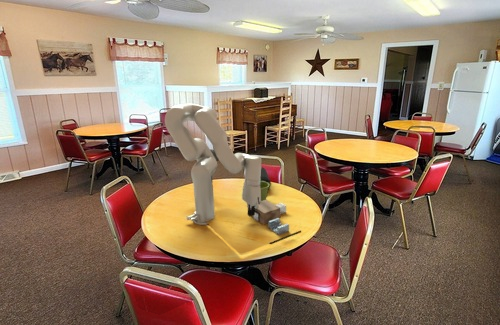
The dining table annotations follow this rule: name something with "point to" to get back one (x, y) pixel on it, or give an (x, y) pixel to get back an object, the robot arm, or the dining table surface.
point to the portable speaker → (265, 176)
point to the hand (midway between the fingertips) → (251, 215)
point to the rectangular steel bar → (280, 205)
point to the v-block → (279, 229)
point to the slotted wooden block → (267, 211)
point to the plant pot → (264, 189)
